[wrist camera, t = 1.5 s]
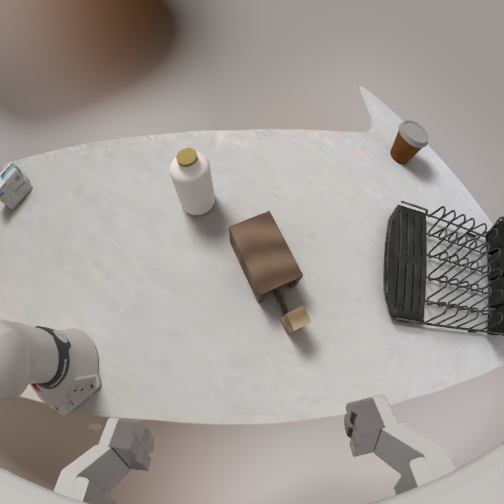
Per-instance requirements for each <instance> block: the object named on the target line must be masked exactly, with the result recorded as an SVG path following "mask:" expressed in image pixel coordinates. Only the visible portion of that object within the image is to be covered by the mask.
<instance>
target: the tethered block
mask: <svg viewBox="0 0 504 504" xmlns="http://www.w3.org/2000/svg"><path fill="white" fill-rule="evenodd" d="M273 291H274V293H275V295H276V297H277V299H278V301H279V303H280V305H281V307H282V309H283V311H284V313H285V315H284V316H283V317H282V318H281V322H282V324H283V326H284V329H285V331H286V333H287V334H289V333H291V332H294V331H296V330H298V329H300V328H302V327H304V326H306V325H307V324H309V323H311V321H310V319H309V317H308V315H307V313H306V311H305V309H304V306H301V307H299V308H297V309H295V310H293V311H291V312H288V310H287V308H286V306H285V304H284V302H283V299H282V297H281V295H280V293H279V291H278V289H277V288H276V289H274V290H273Z"/></svg>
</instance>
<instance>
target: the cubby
mask: <svg viewBox="0 0 504 504" xmlns="http://www.w3.org/2000/svg"><path fill="white" fill-rule="evenodd" d="M229 233H230V243H231V245H232V247H233V249H234V252H235V254H236V256H237V258H238V260H239V262H240V265H241V267H242V269H243V271H244V273H245V276H246V278H247V280H248V282H249V284H250V286H251V289H252V291H253V293H254V295H255V297H256V299H257V301H258V303H259V302H261V301H263V298H264V295H265V293H267V292H270V291H272V290H274V289H276V288H279V287H281V286H283V285H285V284H288V283H289V284H290V286H291V288H293V287H295V286H296V285H297V283H298V282H299V281H300V279H301V278H302V276H303V274H302V272H301V270H300V269H299V267H298V265H297V263H296V261H295V259H294V257H293V255H292V253H291V251H290V249H289V247H288V245H287V243H286V241H285V240H284V238H283V236H282V234H281V232H280V230H279V228H278V226H277V224H276V222H275V221H274V219H273V217H272V215H271V213H270V211H268V212H266V213H263V214H260V215H258V216H255V217H253V218H250V219H248V220H245V221H242V222H240V223H237V224H235V225H232V226H230V227H229Z"/></svg>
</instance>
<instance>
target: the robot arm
mask: <svg viewBox="0 0 504 504" xmlns="http://www.w3.org/2000/svg"><path fill="white" fill-rule="evenodd" d="M28 384H30V385H31V386H32V388H33V390H34V391H35V393H36V394H37V395H38V396H39V397H40V398H41V400H43V401H44V402H45V403H46V404H47V405H48V406H49V407H50V408H51V409H53V410H54V411H55V412H57V413H58V414H60V415H63V416H67V415H68V414H70V413H71V412H72V411H73V410H74V409H75V408H77V407H78V406H79V405H80V404H81V403H82V402H84V401H85V400H86V399H87V398H88V397H89V396H90V395H92V394H93V393H94V392H95V391H96V390H97V389H98V388H100V386H101V381H100V377H99V374H98V355H97V351H96V348H95V346H94V344H93V342H92V341H91V339H90V338H89V337H88V336H87V335H86V334H85V333H83V332H82V331H80V330H76V329H68V330H61V331H57V330H54V329H50V328H46V327H40V326H37V327H32V326H29V325H25V324H21V323H17V322H10V321H6V320H2V319H0V399H4V400H13V399H16V398H17V397H19V396H20V395H21V394H22V393H23V392H24V391H25V389H26V387H27V386H28ZM92 385H93V387H92ZM57 408H58V409H57ZM346 411H347V414H346V415H345V418H344V421H345V422H344V423H345V430H346V434H347V436H348V437H350V438H351V440H350V447H351V450H352V453H353V456H354V457H355V456H359V455H363V454H368V453H372V452H374V454H376V455H377V456H378V457H379V458H381V459H382V460H383V461H384V462H386V463H387V464H388V465H389V466H391V467H392V468H393V469H395V470H396V471H397V472H399V473H400V474H401V475H402V476H401V478H400V479H399V481H398V482H397V484H396V485H395V487H394V489H395V492H396V495H395V496H392V497H389V498H386V499H383V500H380V501H376V502H373V503H370V504H504V442H502V443H500V444H499V445H497V446H496V447H494V448H493V449H491V450H489V451H488V452H486V453H485V454H483V455H482V456H480V457H478V458H476V459H474V460H473V461H471V462H469V463H467V464H465V465H464V466H461V467H460V468H458V469H455V468H454V465H453V463H452V461H451V459H450V457H449V455H448V453H447V451H446V449H445V447H444V446H443V445H441V444H439V443H437V442H435V441H433V440H431V439H430V438H428V437H426V436H424V435H422V434H421V433H419V432H417V431H415V430H413V429H412V428H410V427H408V426H407V425H405V424H403V423H399V424H398V422H397V420H396V418H395V415H394V413H393V411H392V409H391V407H390V405H389V403H388V401H387V399H386V397H385V395H383V394H382V395H378V396H375V397H370V398H366V399H362V400H358V401H354V402H350V403H347V405H346ZM145 427H146V424H145V423H144V421H143V420H132V419H122V418H113V417H110V418H109V419H108V421H107V423H106V426H105V428H104V431H103V434H102V436H101V439H100V441H99V444H98V445H95V446H93V447H92V448H91V449H89V450H88V451H87V452H85V453H84V454H83V455H81V456H80V457H79V458H78V459H76V460H75V461H74V462H72V463H71V464H70V465H68V466H67V467H65V468H64V469H63V470H62V471H61V474H60V476H59V478H58V481H57V484H56V486H55V489H54V491H51V490H49V489H46V488H43V487H41V486H39V485H36V484H34V483H32V482H30V481H27V480H25V479H23V478H21V477H19V476H17V475H15V474H13V473H11V472H9V471H7V470H5V469H1V468H0V504H116V503H115V501H114V500H113V499H111V498H110V497H109V496H108V495H107V494H108V493H109V492H110V491H111V490H112V489H113V488H114V487H115V486H116V485H117V484H118V483H119V482H120V481H121V480H122V479H123V478H124V476H125V475H126V474H127V473H128V472H129V471H130V470H131V469H136V470H148V468H149V464H150V459H151V458H150V457H149V455H148V454H149V453H150V452H151V451H153V446H154V439H153V436H152V433H151V432H150V431H149V430H148V429H146V428H145Z"/></svg>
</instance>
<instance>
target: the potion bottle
mask: <svg viewBox="0 0 504 504" xmlns="http://www.w3.org/2000/svg"><path fill="white" fill-rule="evenodd" d="M170 175H171V178H172V181H173V184H174V186H175V189H176V192H177V194H178V197H179V200H180V203H181V205H182V207H183V209H184V210H185V211H186V212H187V213H189V214H191V215H202V214H205V213H207V212H208V211H209V210H210V209H211V208H212V207H213V205H214V202H215V195H214V189H213V183H212V177H211V171H210V164H209V161H208V159H207V157H206V156H205V155H203V154H202V153H200V152H197V151H195V150H194V149H191V148H186V149H183V150H181V151H180V152H179V153H178V154H177V156H176V157H175V158H174V160H173V161H172V162H171V165H170Z"/></svg>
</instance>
